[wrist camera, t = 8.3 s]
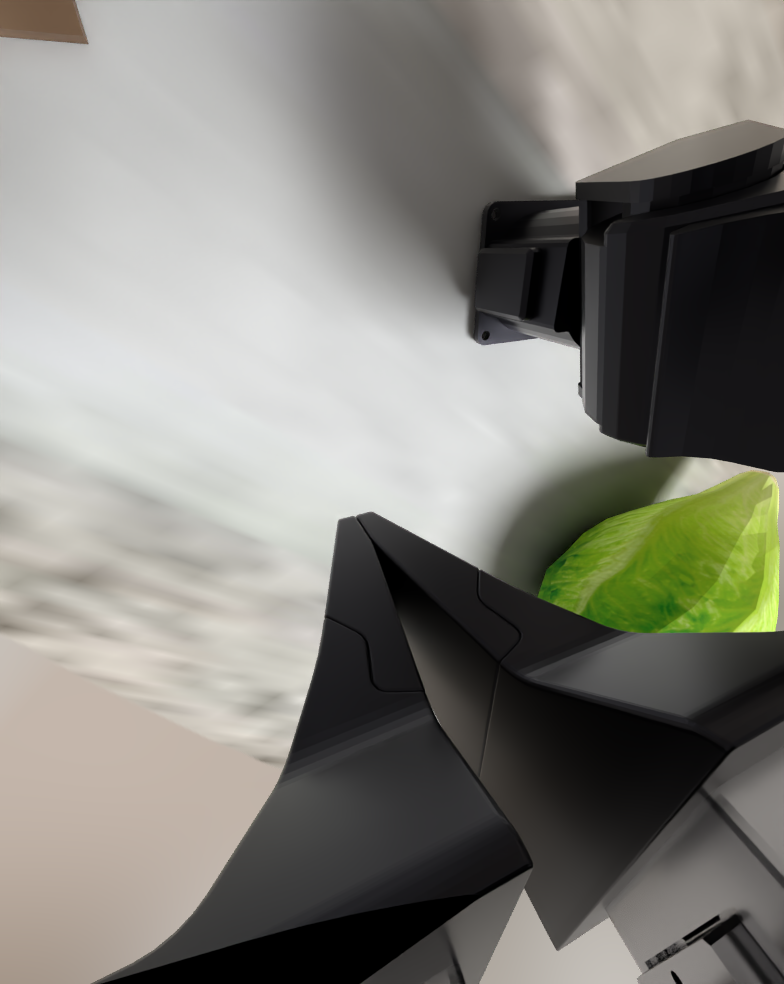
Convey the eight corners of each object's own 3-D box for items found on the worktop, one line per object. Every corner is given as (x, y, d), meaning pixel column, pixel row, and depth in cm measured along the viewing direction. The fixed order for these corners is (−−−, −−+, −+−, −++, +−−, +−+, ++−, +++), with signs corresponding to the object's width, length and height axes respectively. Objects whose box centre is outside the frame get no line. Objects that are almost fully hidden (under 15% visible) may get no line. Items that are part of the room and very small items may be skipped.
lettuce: (651, 389, 33) (655, 485, 44) (484, 600, 31) (531, 646, 41) (920, 446, 23) (838, 553, 33) (697, 770, 20) (686, 773, 31)
